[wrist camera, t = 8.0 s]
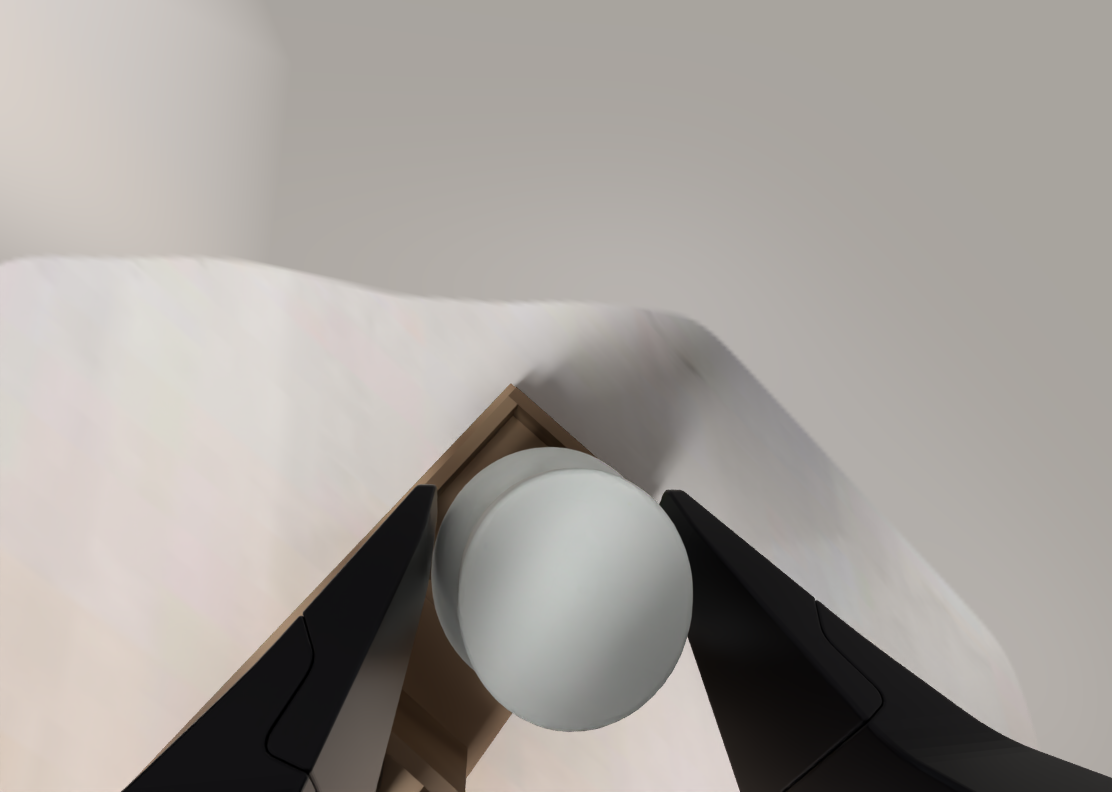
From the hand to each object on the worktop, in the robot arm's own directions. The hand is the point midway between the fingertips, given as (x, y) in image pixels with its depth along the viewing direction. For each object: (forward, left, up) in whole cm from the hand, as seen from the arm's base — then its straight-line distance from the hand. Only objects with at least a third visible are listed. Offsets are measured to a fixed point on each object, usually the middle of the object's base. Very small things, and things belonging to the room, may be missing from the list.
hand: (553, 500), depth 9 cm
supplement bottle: (-1, 0, -7) cm, 7 cm away
